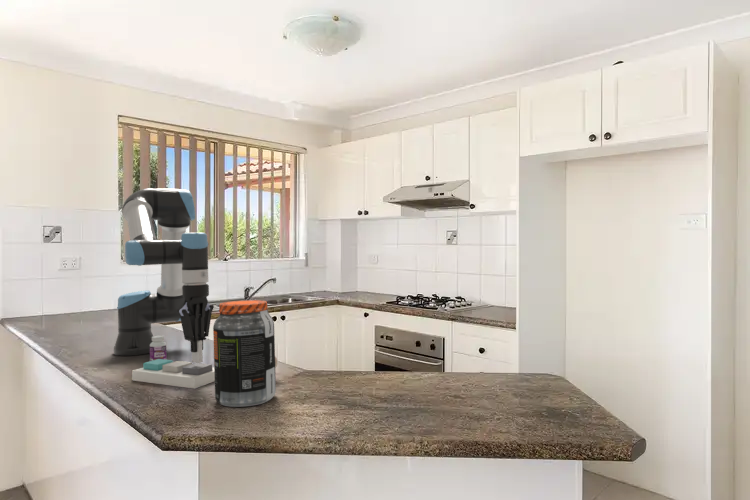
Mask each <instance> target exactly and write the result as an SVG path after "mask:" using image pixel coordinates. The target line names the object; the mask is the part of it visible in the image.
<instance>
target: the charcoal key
mask: <svg viewBox="0 0 750 500" xmlns="http://www.w3.org/2000/svg"><path fill="white" fill-rule="evenodd" d="M212 367H213V364H212V363H203V362H201V363H192V365H188V366H185V367H182V371H183V374H190V375H201V374H204V373H207V372H210V371H212Z"/></svg>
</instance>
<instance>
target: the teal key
mask: <svg viewBox="0 0 750 500" xmlns="http://www.w3.org/2000/svg"><path fill="white" fill-rule="evenodd" d="M172 362H174V360H172V359H167V360H165V359H156V360H153V361H150V360H149V361H146V362H143V363H142V364H143V365H142V366H143V367H144V369H147V370H155V371H159V370H162V369H163V365H165V364H168V363H172ZM143 367H142V368H143Z"/></svg>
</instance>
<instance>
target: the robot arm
mask: <svg viewBox="0 0 750 500" xmlns="http://www.w3.org/2000/svg"><path fill="white" fill-rule="evenodd" d="M122 215H123V218H124V220H125V221H126V222H127V227H128V234H129V239H130V240H127V241H126V242H125V243H124V257H125V258H124V260H125V263H126V264H127V265H129V266H138V267H139V266H151V265H152V266H153V265H154V266H157V265H160V266H161V271H160V272H161V273H160V286H158V287H157V289H156V293H151V291H150V290H141V291H140V290H139V291H134V292H133V291H132V292H128V293H124V294H121V295H120V296H119V297H118V298H117V307H116V309H117V321H118V322H117V327H118V328H117V331H118V333H117V337H116V341H115V343H114V347H113V355H115V356H122V357H123V356H124V357H125V356H128V357H131V356H139V355H146V354H150V344H151V343H152V342H153V341H152V337H153V336H154V335H153V332H152V324H162V323H164V324H165V323H173V322H175V323H177V322H181V329H182V332H183V337H184V340H185V341H188V342H190V352H191V362H192V364H195V363H203V362H204V361H203V356H204V355H203V350H204V341H206V339H207V337H209V335H210V328H211V327H210V326H211V319H212V312H213V310H214V309H215V308H214V307H215V305H214V304H210V303H209V300H208V297H209V295H210V286H209V284H208V282H209V242H208V235H207V233H206V232H187V229H188V228H189V227H190V226H191V221H192V222H193V221H194V220H195V219H196V209H195V202H194V196H193V195H192V192H191V191H190V190H188V189H181V188H180V189H179V188H141V189H139V190H137V191H135V192H133V193H132V194H131V195H129V196H127V198H126V200H125V201H124V202H123V205H122ZM153 221H157V225H158V226H159V228H161V239H160V240H159V239H157V236H156V234H155V233H156V232H155V228H154V224H153Z"/></svg>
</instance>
